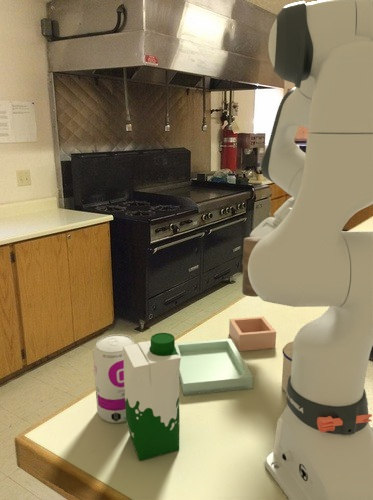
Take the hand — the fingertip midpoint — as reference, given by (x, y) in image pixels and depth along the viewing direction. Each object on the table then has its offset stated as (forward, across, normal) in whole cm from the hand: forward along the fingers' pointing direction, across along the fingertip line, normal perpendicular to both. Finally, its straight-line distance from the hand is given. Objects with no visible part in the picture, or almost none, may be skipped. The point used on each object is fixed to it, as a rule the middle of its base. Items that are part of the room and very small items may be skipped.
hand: (251, 261), depth 106 cm
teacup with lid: (+12, +22, +20) cm, 32 cm away
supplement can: (+40, +24, -8) cm, 47 cm away
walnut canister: (+6, 0, +6) cm, 8 cm away
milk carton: (+36, +34, -4) cm, 50 cm away
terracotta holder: (+15, 0, +16) cm, 22 cm away
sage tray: (+25, +12, +6) cm, 28 cm away
